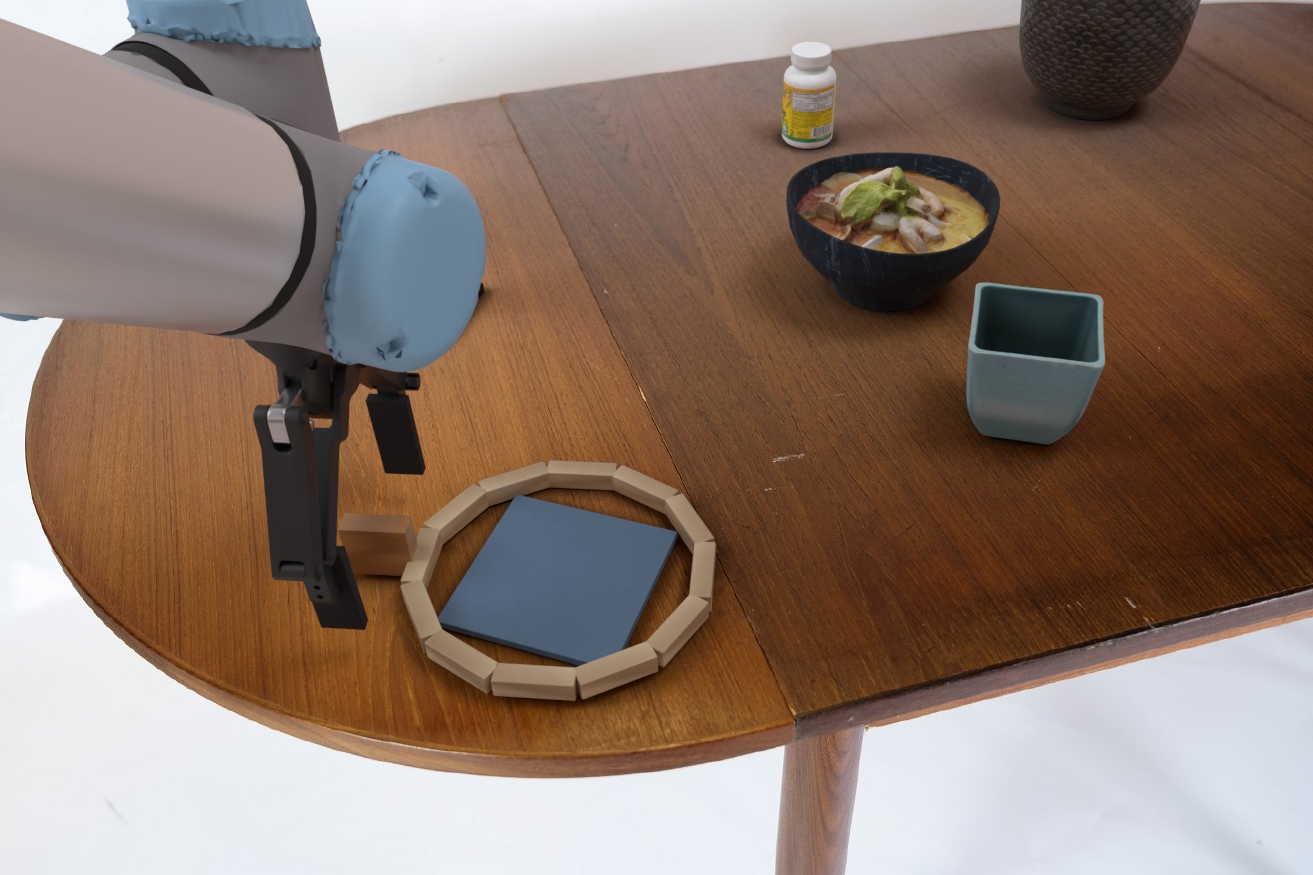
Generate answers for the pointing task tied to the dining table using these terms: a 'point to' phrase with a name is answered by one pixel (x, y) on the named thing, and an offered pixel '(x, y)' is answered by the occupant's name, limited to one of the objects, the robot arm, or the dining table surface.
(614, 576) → the mat
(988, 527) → the dining table surface
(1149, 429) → the dining table surface
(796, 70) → the supplement bottle
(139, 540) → the dining table surface
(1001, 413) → the flower pot
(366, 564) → the segmented ring with tab
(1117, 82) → the planter
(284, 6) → the robot arm
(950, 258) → the bowl
